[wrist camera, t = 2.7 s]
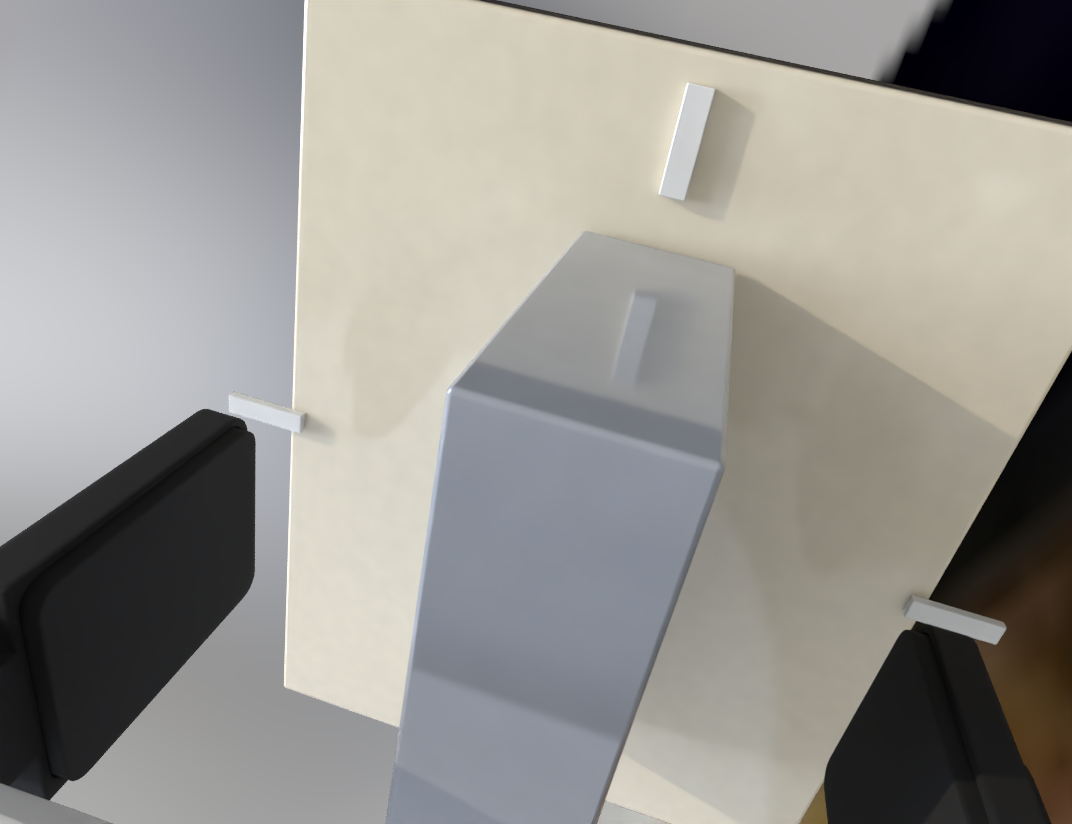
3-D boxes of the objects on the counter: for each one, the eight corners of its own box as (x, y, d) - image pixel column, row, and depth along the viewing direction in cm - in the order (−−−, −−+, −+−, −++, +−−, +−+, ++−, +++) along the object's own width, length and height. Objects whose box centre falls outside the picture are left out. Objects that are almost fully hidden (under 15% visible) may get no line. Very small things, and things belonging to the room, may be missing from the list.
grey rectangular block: (582, 228, 11) (433, 398, 6) (737, 267, 10) (727, 483, 5) (486, 675, 15) (353, 997, 10) (594, 711, 15) (513, 1063, 10)
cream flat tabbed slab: (334, -35, 13) (221, -54, 10) (1165, 142, 11) (1305, 176, 8) (305, 587, 19) (232, 678, 17) (820, 759, 18) (834, 891, 15)
